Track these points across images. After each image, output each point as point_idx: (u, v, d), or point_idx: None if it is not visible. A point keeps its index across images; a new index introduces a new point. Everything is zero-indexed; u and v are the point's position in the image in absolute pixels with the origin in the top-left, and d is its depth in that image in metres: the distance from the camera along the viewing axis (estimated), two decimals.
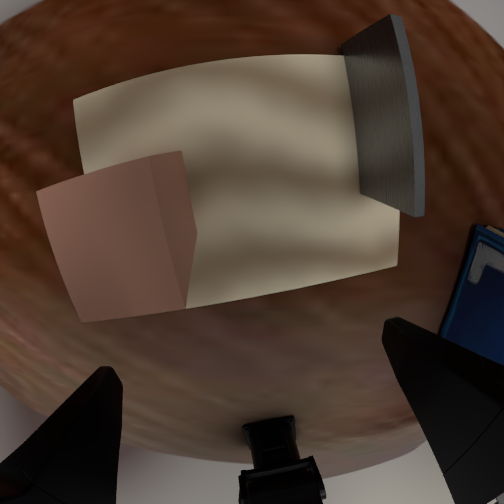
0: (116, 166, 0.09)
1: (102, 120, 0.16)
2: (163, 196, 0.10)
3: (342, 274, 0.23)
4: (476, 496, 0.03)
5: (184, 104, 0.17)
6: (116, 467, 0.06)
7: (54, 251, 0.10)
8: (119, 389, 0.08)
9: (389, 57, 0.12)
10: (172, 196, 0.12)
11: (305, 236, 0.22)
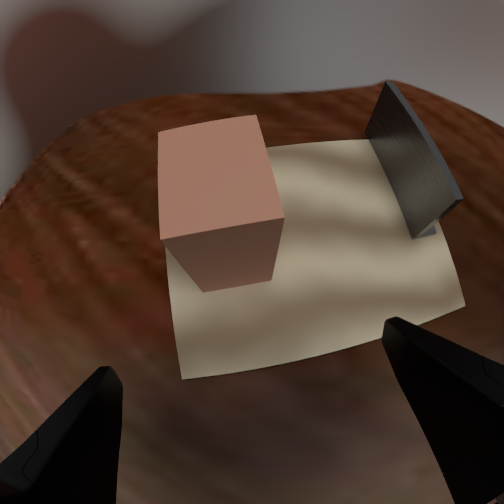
0: (232, 118, 0.13)
1: None
2: None
3: (418, 319, 0.19)
4: (476, 496, 0.03)
5: None
6: (116, 467, 0.06)
7: (158, 172, 0.12)
8: (119, 389, 0.08)
9: (395, 110, 0.19)
10: None
11: (374, 281, 0.20)
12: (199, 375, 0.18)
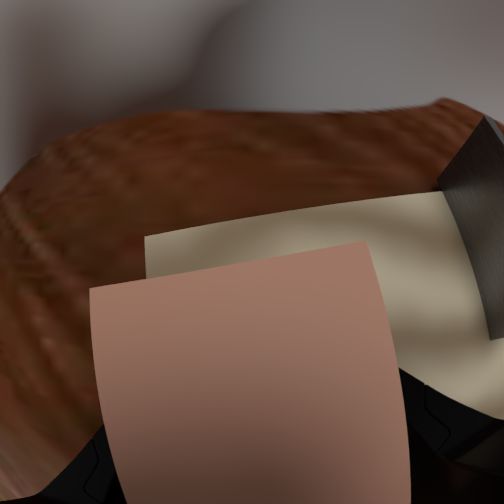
0: (300, 255, 0.05)
1: (183, 269, 0.15)
2: None
3: None
4: None
5: None
6: None
7: (107, 429, 0.04)
8: None
9: (497, 164, 0.11)
10: None
11: None
12: None
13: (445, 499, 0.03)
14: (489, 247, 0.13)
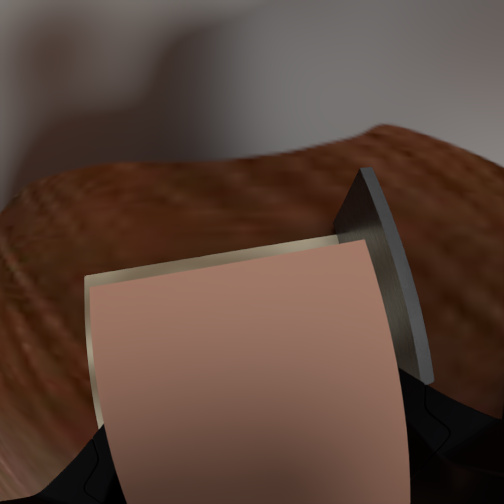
0: (299, 254, 0.05)
1: None
2: None
3: None
4: None
5: None
6: None
7: (106, 428, 0.04)
8: None
9: (368, 218, 0.15)
10: None
11: None
12: None
13: (445, 499, 0.03)
14: None
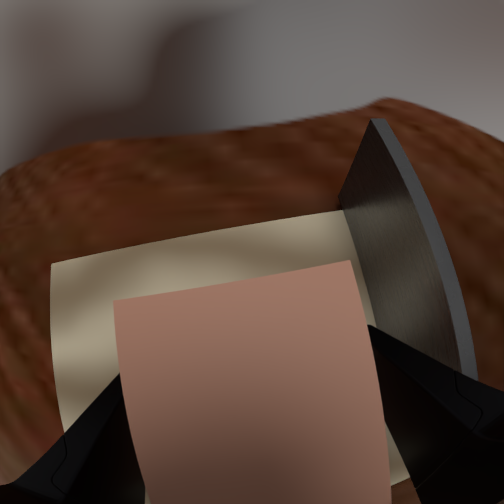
0: (293, 274, 0.06)
1: (73, 293, 0.16)
2: None
3: None
4: None
5: (155, 287, 0.16)
6: None
7: (129, 421, 0.05)
8: None
9: (385, 179, 0.11)
10: None
11: None
12: None
13: (480, 476, 0.03)
14: (382, 280, 0.13)
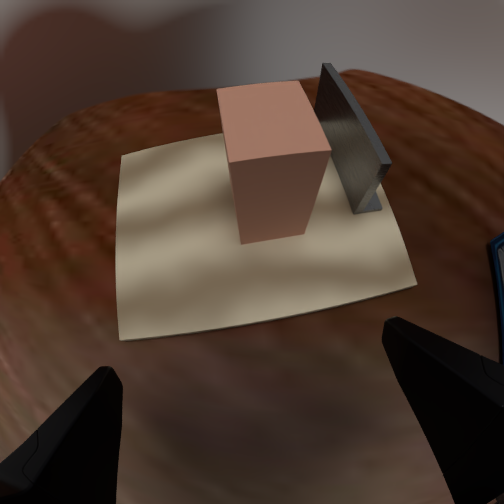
0: (279, 82, 0.15)
1: (140, 168, 0.25)
2: None
3: (356, 295, 0.20)
4: (476, 496, 0.03)
5: (200, 158, 0.25)
6: (116, 468, 0.06)
7: (221, 116, 0.14)
8: (119, 389, 0.08)
9: (331, 89, 0.21)
10: None
11: (307, 254, 0.22)
12: (134, 336, 0.20)
13: None
14: (337, 145, 0.23)
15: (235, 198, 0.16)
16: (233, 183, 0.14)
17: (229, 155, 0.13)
